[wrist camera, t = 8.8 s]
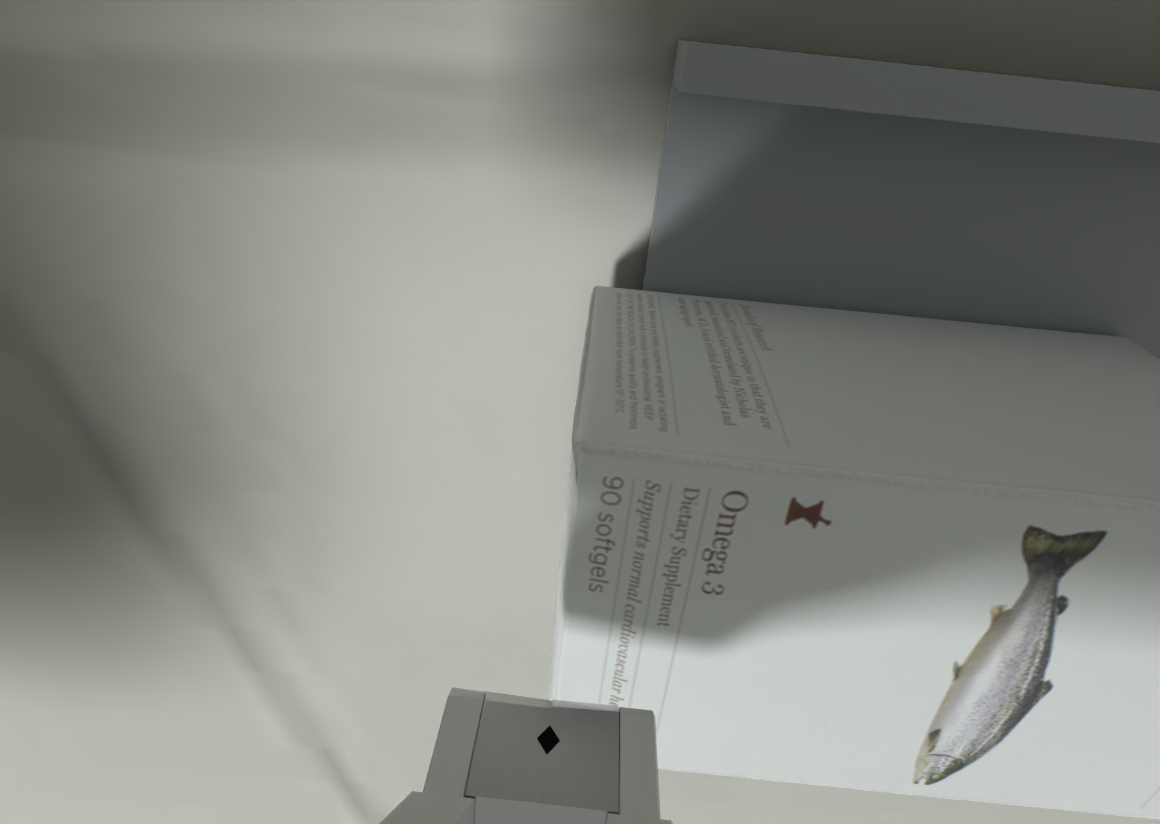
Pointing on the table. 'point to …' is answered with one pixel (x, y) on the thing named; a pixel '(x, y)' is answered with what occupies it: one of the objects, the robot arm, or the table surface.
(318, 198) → the table surface
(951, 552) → the supplement box
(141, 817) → the table surface
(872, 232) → the tray
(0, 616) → the table surface
